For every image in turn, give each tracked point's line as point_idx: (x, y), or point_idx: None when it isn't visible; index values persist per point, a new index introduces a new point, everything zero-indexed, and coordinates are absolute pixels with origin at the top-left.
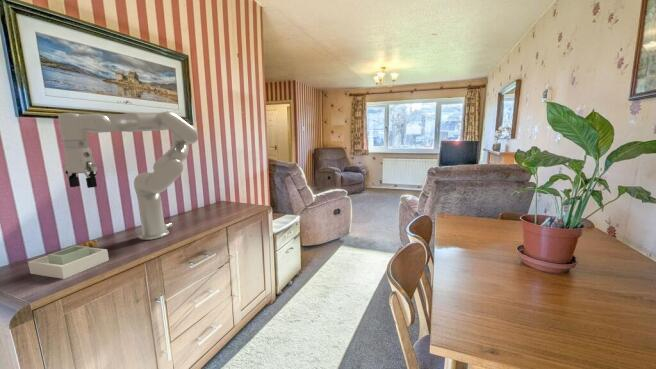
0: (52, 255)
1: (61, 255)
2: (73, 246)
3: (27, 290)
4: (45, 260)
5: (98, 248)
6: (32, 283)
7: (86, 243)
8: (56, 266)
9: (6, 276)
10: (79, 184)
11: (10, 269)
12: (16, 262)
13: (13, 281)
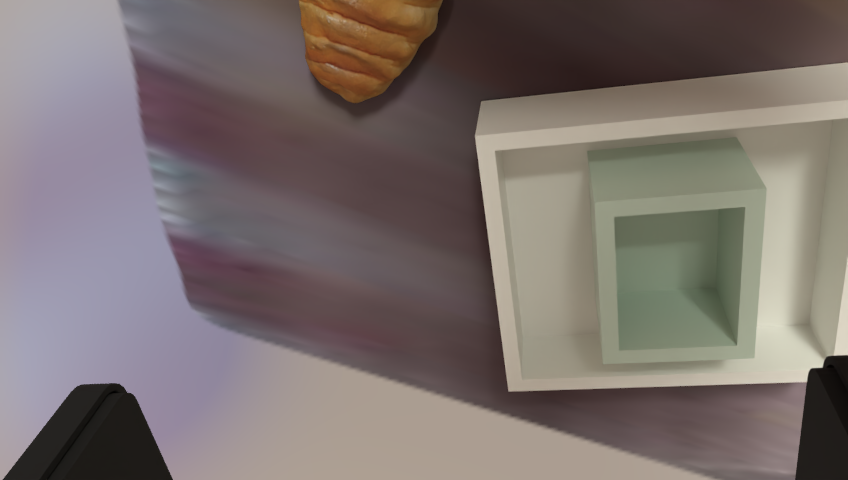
0: (654, 360)
1: (734, 349)
2: (600, 222)
3: (755, 433)
4: (515, 310)
5: (770, 107)
6: (684, 393)
7: (397, 14)
8: (794, 379)
9: (421, 386)
10: (107, 413)
11: (313, 341)
12: (199, 285)
13: (543, 404)
